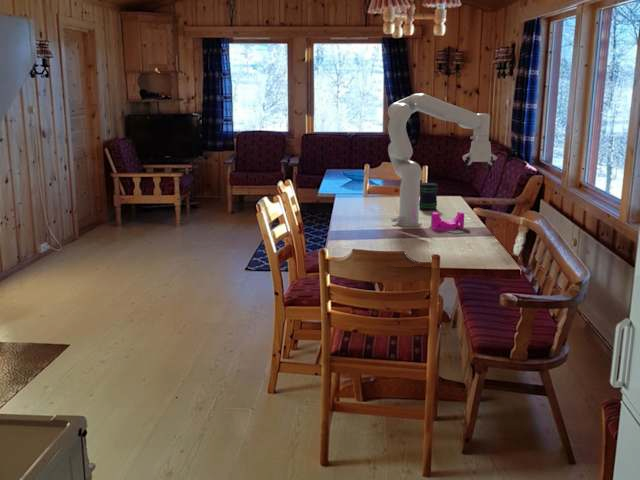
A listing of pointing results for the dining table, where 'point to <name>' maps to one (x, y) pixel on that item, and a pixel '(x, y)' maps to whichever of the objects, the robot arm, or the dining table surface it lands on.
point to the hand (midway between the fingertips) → (478, 172)
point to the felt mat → (453, 231)
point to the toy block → (443, 225)
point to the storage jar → (428, 196)
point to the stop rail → (463, 229)
